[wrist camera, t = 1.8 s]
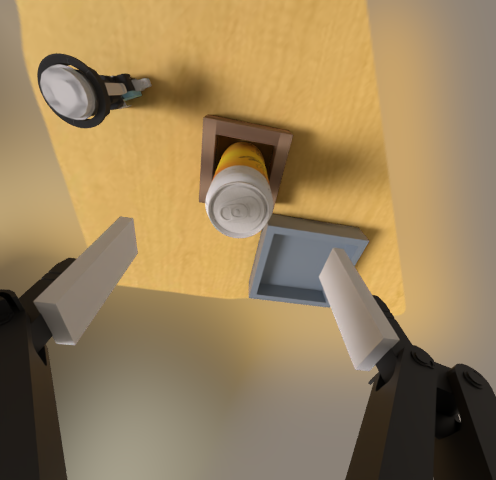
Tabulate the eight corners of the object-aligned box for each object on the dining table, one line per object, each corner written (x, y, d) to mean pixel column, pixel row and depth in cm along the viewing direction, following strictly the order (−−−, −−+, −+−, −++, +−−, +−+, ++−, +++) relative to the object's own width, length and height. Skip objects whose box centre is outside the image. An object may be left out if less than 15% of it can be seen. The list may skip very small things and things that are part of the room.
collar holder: (208, 114, 28) (203, 117, 25) (288, 130, 29) (293, 135, 26) (203, 192, 33) (198, 202, 31) (270, 203, 34) (272, 213, 32)
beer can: (266, 181, 32) (277, 237, 20) (226, 187, 33) (213, 245, 21) (261, 137, 29) (270, 171, 17) (216, 144, 30) (194, 184, 17)
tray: (266, 212, 35) (268, 225, 32) (358, 227, 37) (369, 241, 34) (248, 282, 44) (248, 297, 41) (323, 291, 46) (329, 307, 43)
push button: (141, 54, 24) (86, 36, 16) (162, 108, 27) (125, 116, 19) (88, 72, 25) (11, 63, 17) (114, 122, 28) (59, 136, 20)
